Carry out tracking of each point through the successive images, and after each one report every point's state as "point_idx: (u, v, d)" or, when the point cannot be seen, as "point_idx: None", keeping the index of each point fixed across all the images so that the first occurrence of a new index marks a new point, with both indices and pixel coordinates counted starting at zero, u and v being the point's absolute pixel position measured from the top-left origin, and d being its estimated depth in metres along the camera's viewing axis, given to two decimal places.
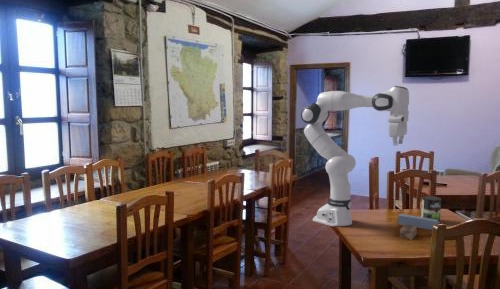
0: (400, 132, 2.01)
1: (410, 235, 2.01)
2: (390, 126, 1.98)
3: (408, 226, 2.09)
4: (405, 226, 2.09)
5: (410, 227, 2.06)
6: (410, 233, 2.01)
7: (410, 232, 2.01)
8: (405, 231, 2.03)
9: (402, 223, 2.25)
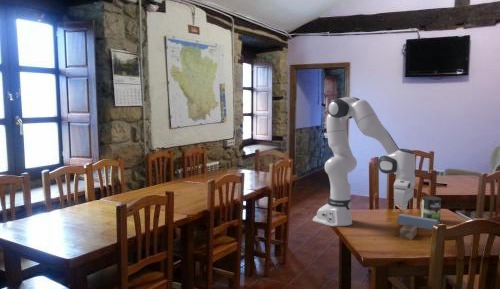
0: (406, 198, 1.92)
1: (410, 235, 2.01)
2: (396, 193, 1.88)
3: (408, 226, 2.09)
4: (405, 226, 2.09)
5: (410, 227, 2.06)
6: (410, 233, 2.01)
7: (410, 232, 2.01)
8: (405, 231, 2.03)
9: (402, 223, 2.25)
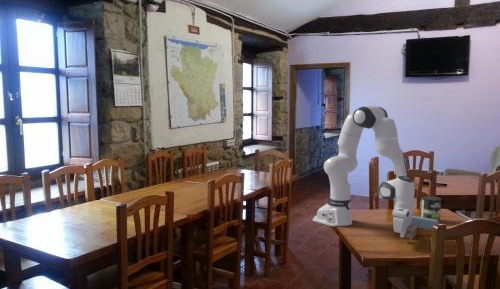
0: (405, 226, 1.93)
1: (410, 235, 2.01)
2: (395, 221, 1.90)
3: (408, 226, 2.09)
4: None
5: (410, 228, 2.06)
6: (410, 233, 2.01)
7: (410, 232, 2.01)
8: None
9: None
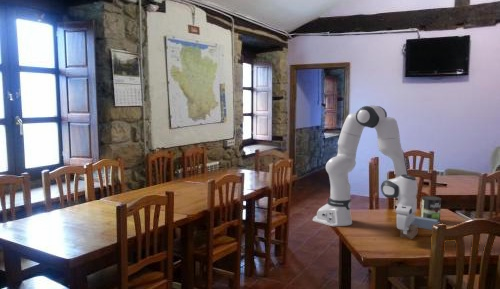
0: (408, 223, 1.98)
1: (411, 234, 2.02)
2: (398, 218, 1.94)
3: None
4: None
5: (410, 227, 2.07)
6: (411, 232, 2.02)
7: (411, 231, 2.02)
8: None
9: None
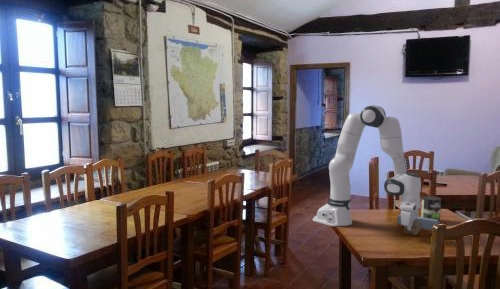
0: (412, 219, 2.04)
1: (414, 230, 2.08)
2: (402, 215, 2.00)
3: None
4: None
5: (414, 223, 2.13)
6: (414, 228, 2.08)
7: (414, 227, 2.08)
8: None
9: None
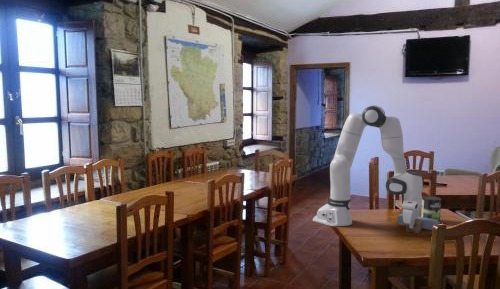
0: (413, 218, 2.07)
1: (416, 228, 2.11)
2: (404, 213, 2.03)
3: None
4: None
5: (416, 221, 2.16)
6: (416, 226, 2.11)
7: (416, 225, 2.11)
8: None
9: (402, 223, 2.25)
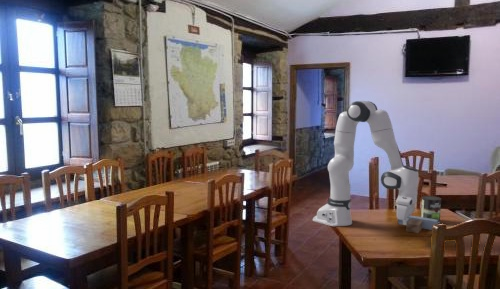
0: (408, 214, 1.99)
1: (416, 229, 2.11)
2: (398, 209, 1.96)
3: (414, 220, 2.18)
4: (411, 220, 2.18)
5: (416, 222, 2.16)
6: (416, 227, 2.11)
7: (416, 226, 2.11)
8: (411, 225, 2.12)
9: (402, 223, 2.25)
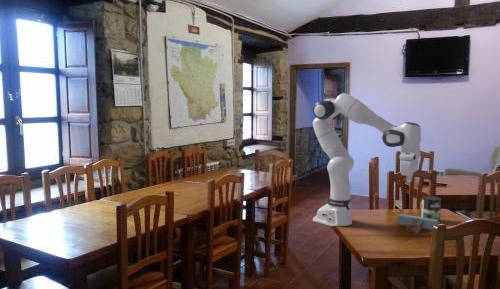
0: (411, 170, 1.97)
1: (416, 229, 2.11)
2: (402, 164, 1.93)
3: (414, 220, 2.18)
4: (411, 220, 2.18)
5: (415, 222, 2.16)
6: (416, 227, 2.11)
7: (416, 226, 2.11)
8: (411, 225, 2.12)
9: (402, 223, 2.25)
